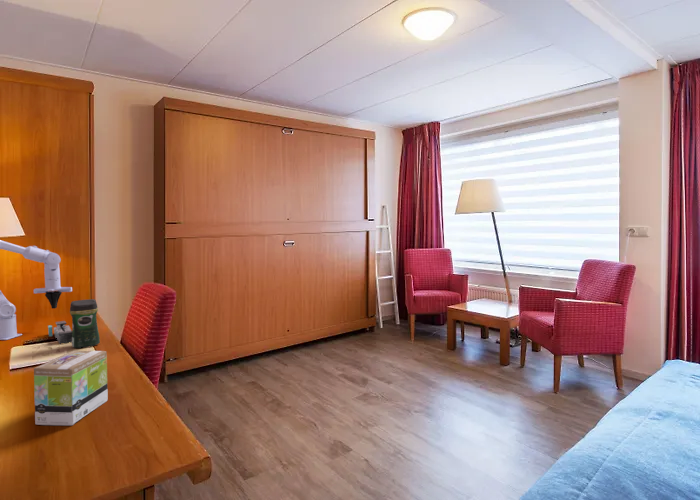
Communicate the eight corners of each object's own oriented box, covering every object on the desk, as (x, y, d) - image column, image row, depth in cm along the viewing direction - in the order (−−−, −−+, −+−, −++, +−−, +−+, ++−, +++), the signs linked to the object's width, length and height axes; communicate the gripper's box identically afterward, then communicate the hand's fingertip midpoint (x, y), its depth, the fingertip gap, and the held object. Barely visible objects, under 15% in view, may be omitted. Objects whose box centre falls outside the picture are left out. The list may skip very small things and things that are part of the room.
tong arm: (53, 333, 188) (52, 322, 188) (65, 331, 191) (64, 320, 191) (59, 344, 173) (59, 332, 172) (72, 341, 176) (72, 330, 175)
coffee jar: (99, 341, 177) (96, 297, 176) (100, 345, 171) (98, 300, 169) (71, 345, 172) (68, 299, 170) (71, 350, 165) (69, 303, 164)
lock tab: (48, 334, 186) (48, 325, 186) (51, 334, 187) (51, 325, 186) (49, 336, 183) (48, 327, 183) (52, 336, 184) (52, 326, 183)
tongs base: (57, 333, 189) (56, 323, 189) (68, 331, 192) (68, 322, 191) (60, 343, 173) (60, 333, 173) (73, 342, 176) (72, 332, 175)
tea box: (74, 426, 105) (71, 368, 104) (34, 426, 106) (30, 368, 104) (109, 400, 120) (107, 349, 119) (74, 400, 121) (72, 349, 119)
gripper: (30, 280, 187) (32, 310, 188) (67, 279, 191) (69, 308, 193) (36, 278, 194) (38, 307, 195) (73, 277, 198) (74, 305, 199)
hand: (54, 308), depth 194 cm, fingers closed
